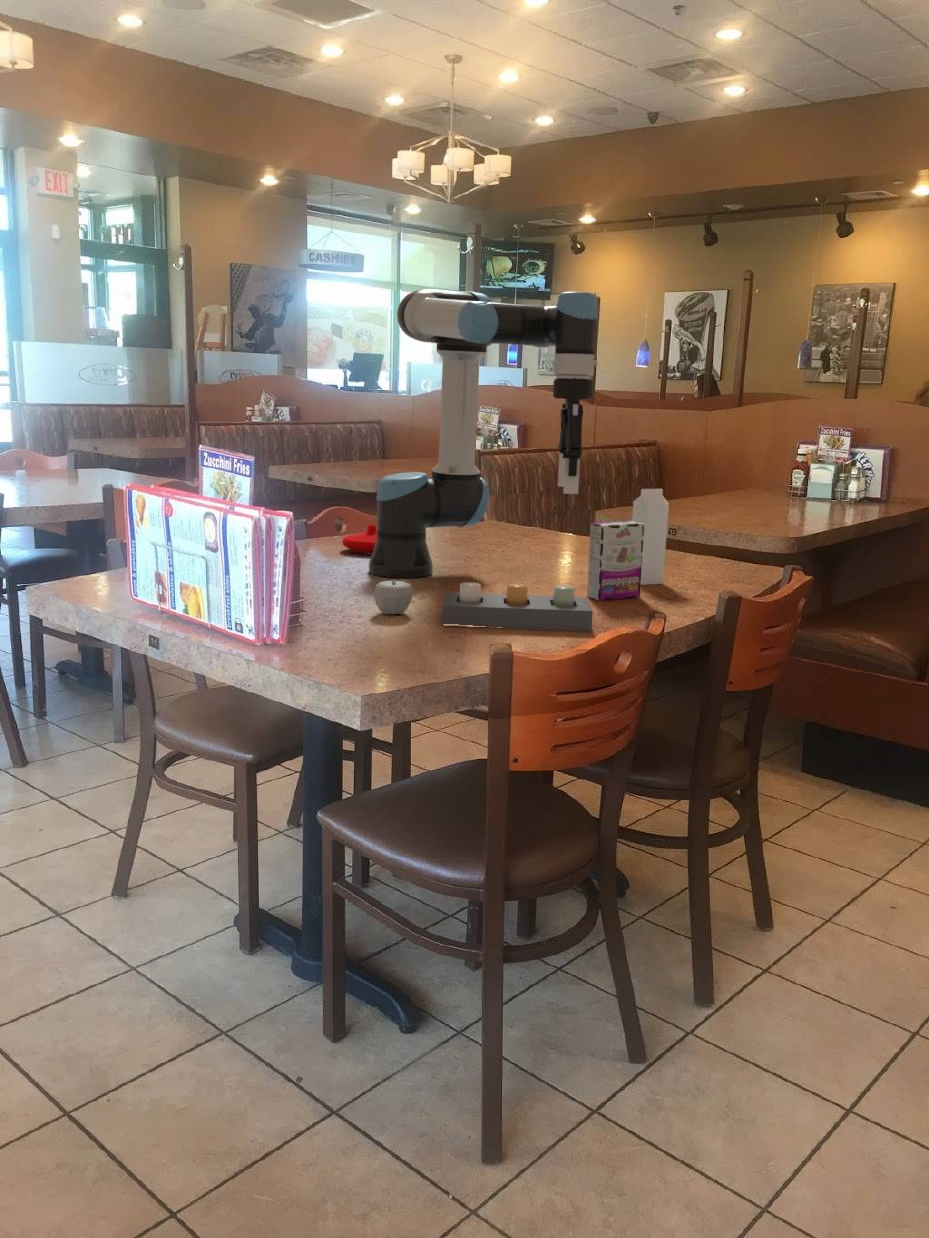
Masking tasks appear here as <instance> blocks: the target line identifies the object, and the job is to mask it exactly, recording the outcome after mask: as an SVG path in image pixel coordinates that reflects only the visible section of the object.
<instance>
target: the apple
mask: <svg viewBox="0 0 929 1238" xmlns="http://www.w3.org/2000/svg"><path fill="white" fill-rule="evenodd" d="M413 595H414V590H413V586H412V584H411V583H408V582H405V581H401V580H386V581H380V582H378V583H377V584H376V586H375V587H374V590H373V598H374V602H375V605H376V606H377V608H378V610H379V612H381V613H382V612H383V613H385V614H384V615H386V614H401V615H402V613H405V611H407V610H408V608H409V606H410V605H411V603H412V599H413ZM383 613H382V614H383Z"/></svg>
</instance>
